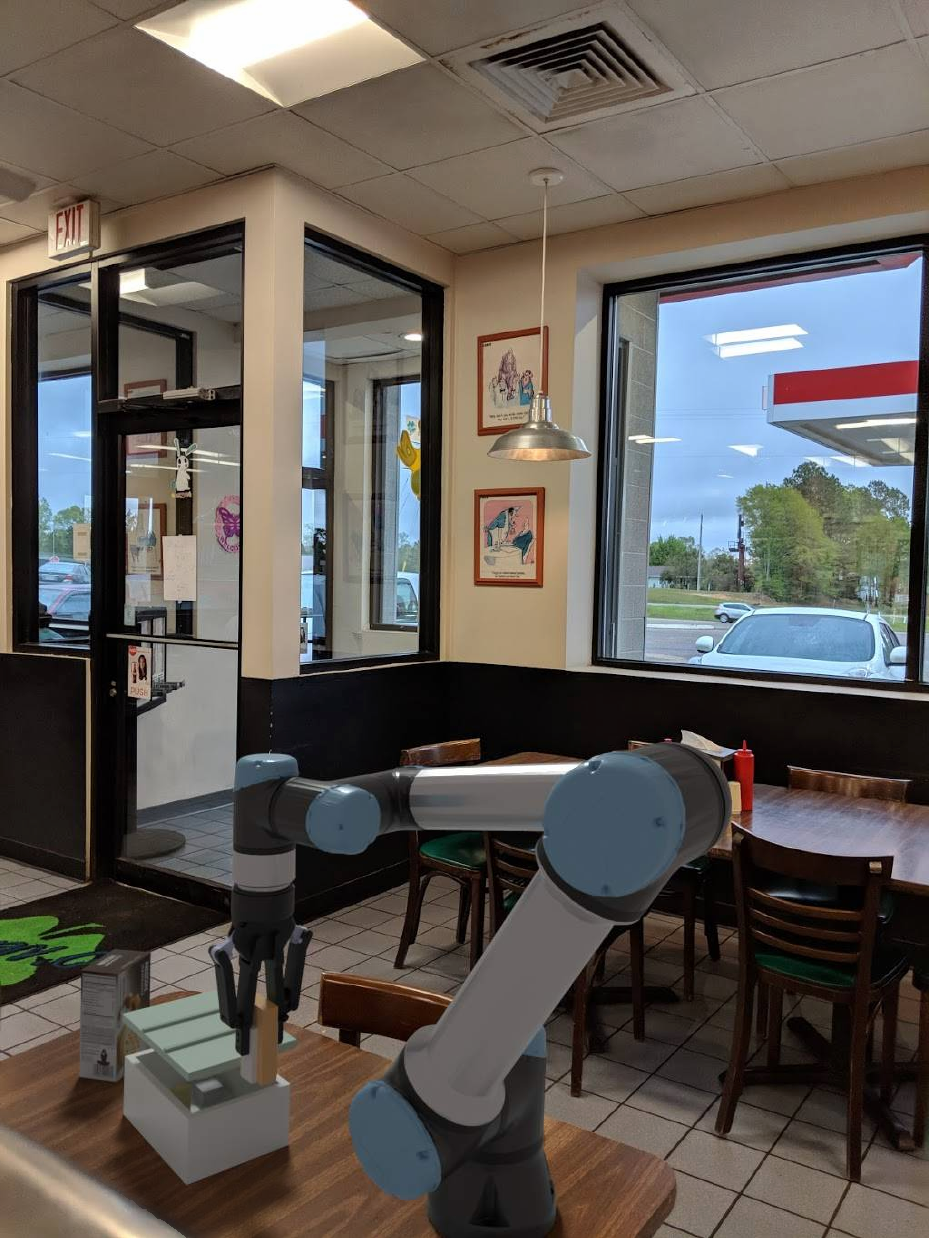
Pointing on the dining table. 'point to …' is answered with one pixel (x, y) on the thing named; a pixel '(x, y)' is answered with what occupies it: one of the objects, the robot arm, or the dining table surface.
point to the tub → (204, 1115)
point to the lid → (207, 1036)
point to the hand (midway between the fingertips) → (258, 1074)
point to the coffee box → (111, 1012)
